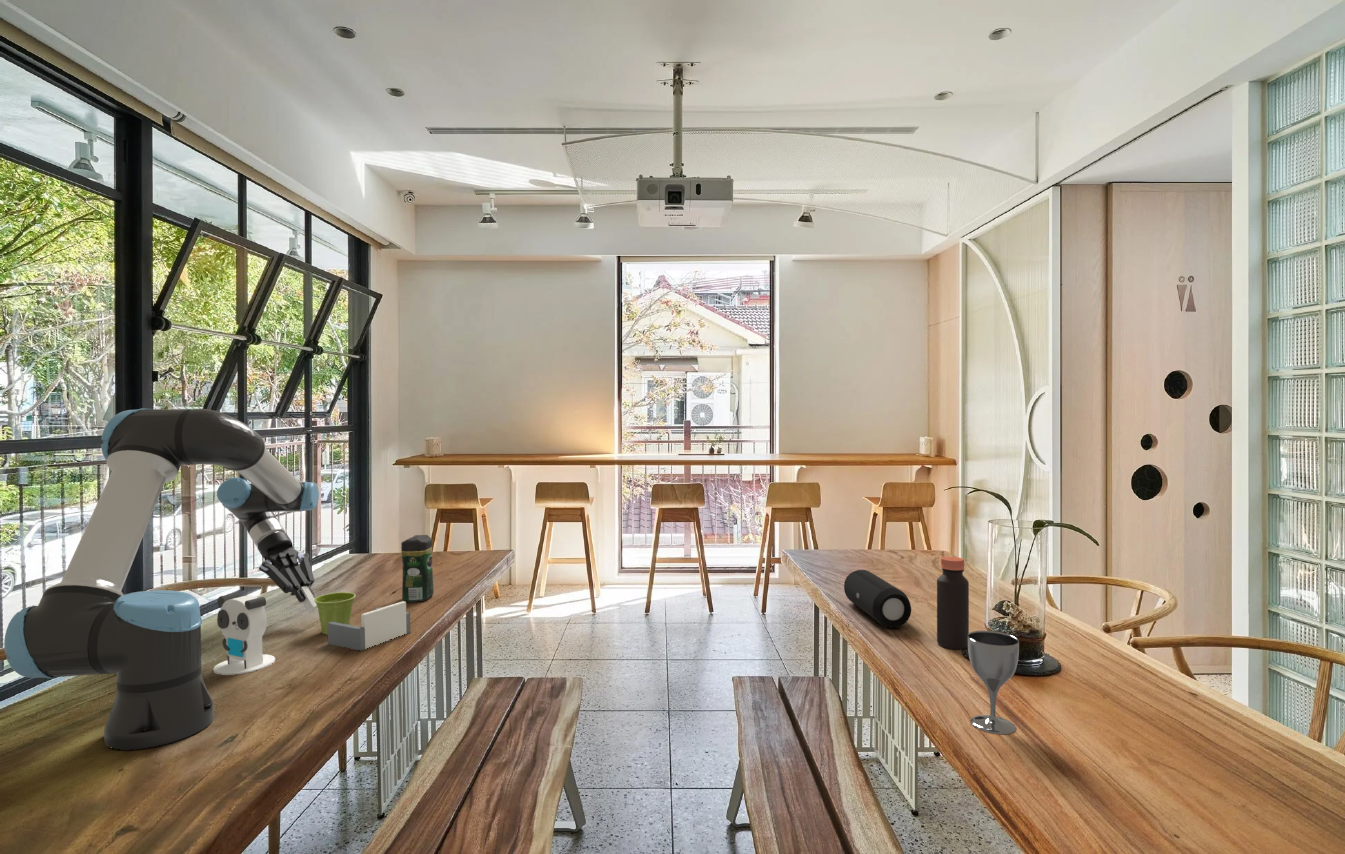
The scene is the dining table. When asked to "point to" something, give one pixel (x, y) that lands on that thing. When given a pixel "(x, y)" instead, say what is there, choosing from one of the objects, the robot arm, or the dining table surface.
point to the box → (371, 628)
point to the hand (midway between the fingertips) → (313, 609)
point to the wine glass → (993, 672)
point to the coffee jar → (417, 568)
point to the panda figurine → (242, 634)
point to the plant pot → (334, 608)
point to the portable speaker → (877, 598)
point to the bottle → (952, 605)
